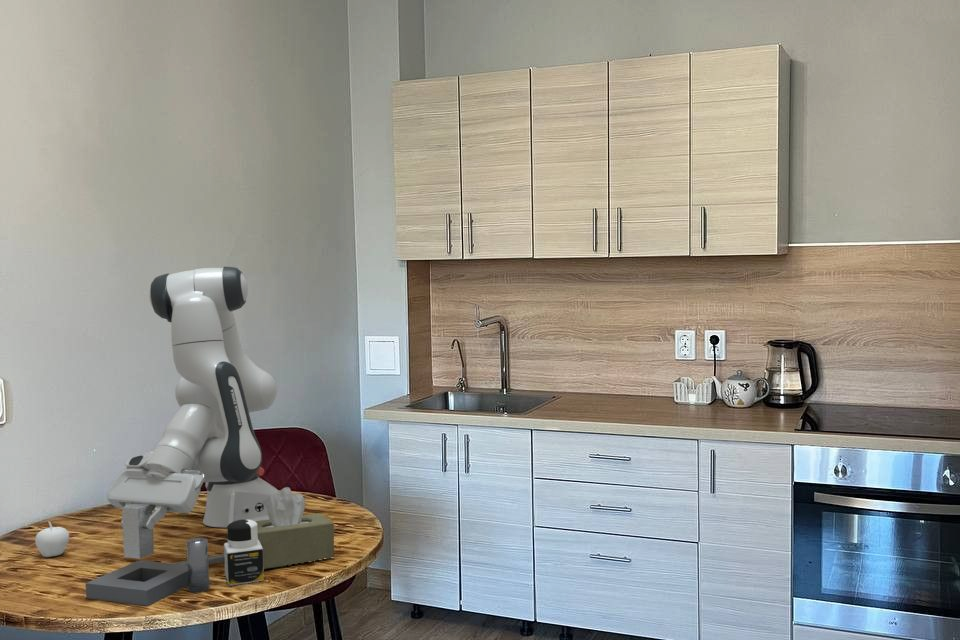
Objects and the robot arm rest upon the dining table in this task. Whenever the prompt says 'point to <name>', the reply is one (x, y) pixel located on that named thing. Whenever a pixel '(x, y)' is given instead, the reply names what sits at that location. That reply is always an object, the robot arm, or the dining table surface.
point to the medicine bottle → (243, 553)
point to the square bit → (137, 531)
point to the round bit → (198, 565)
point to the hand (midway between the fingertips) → (135, 527)
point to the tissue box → (293, 532)
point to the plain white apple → (52, 541)
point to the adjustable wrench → (210, 560)
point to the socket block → (139, 583)
